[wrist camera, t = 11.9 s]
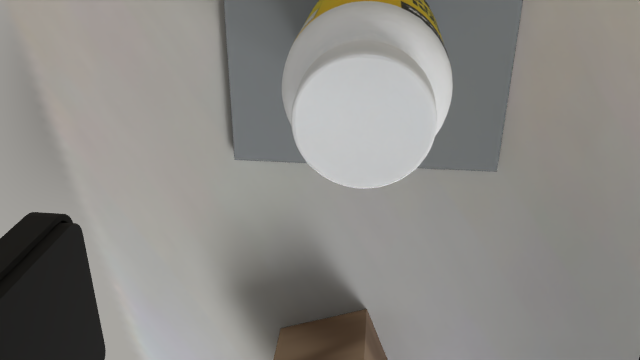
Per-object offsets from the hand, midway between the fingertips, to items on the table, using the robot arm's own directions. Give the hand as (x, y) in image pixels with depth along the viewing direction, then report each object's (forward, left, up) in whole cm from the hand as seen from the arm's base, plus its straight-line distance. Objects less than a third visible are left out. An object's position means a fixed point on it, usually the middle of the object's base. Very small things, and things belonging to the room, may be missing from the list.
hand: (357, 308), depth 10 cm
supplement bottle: (0, 0, -17) cm, 17 cm away
